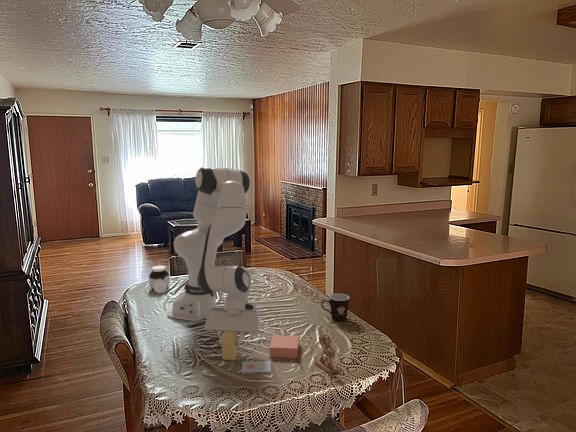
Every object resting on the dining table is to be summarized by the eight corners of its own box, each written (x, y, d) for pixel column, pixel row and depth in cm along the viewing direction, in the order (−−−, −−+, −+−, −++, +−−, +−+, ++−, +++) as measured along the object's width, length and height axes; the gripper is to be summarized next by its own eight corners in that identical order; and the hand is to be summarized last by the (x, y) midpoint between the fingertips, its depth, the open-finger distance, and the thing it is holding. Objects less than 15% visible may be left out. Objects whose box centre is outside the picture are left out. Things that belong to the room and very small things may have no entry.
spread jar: (162, 284, 234) (161, 263, 232) (176, 288, 228) (175, 267, 226) (144, 290, 225) (142, 269, 223) (157, 295, 218) (156, 273, 216)
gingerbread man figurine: (339, 371, 146) (339, 338, 144) (330, 374, 144) (330, 341, 142) (323, 360, 154) (323, 328, 152) (314, 363, 152) (314, 331, 150)
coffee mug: (350, 316, 192) (351, 294, 190) (346, 323, 184) (347, 301, 182) (325, 312, 196) (325, 291, 194) (320, 320, 188) (320, 298, 186)
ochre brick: (222, 359, 155) (221, 335, 153) (225, 353, 159) (225, 330, 158) (234, 360, 154) (234, 336, 153) (237, 354, 159) (237, 331, 157)
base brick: (269, 357, 157) (269, 347, 156) (273, 344, 166) (272, 335, 166) (297, 358, 156) (297, 348, 155) (298, 345, 165) (298, 336, 165)
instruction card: (241, 372, 146) (241, 371, 146) (242, 362, 153) (242, 361, 153) (270, 372, 146) (270, 371, 146) (270, 361, 153) (270, 360, 153)
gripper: (206, 303, 162) (199, 340, 154) (260, 306, 159) (255, 343, 151) (211, 310, 167) (203, 345, 159) (262, 313, 164) (258, 349, 156)
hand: (229, 344), depth 155 cm, fingers closed on ochre brick, 4 cm apart
